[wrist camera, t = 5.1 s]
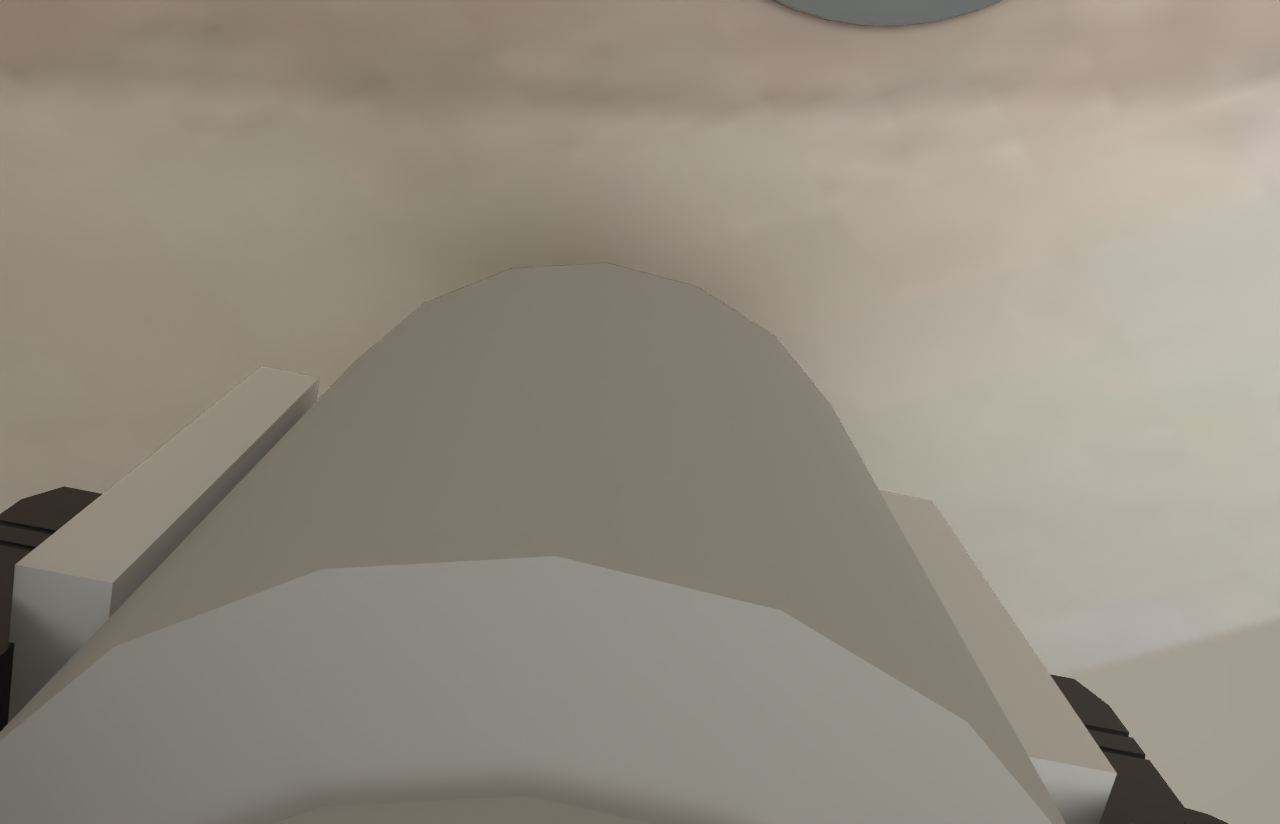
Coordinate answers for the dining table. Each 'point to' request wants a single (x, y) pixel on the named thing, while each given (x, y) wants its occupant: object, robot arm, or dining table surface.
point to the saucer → (886, 10)
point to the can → (537, 602)
